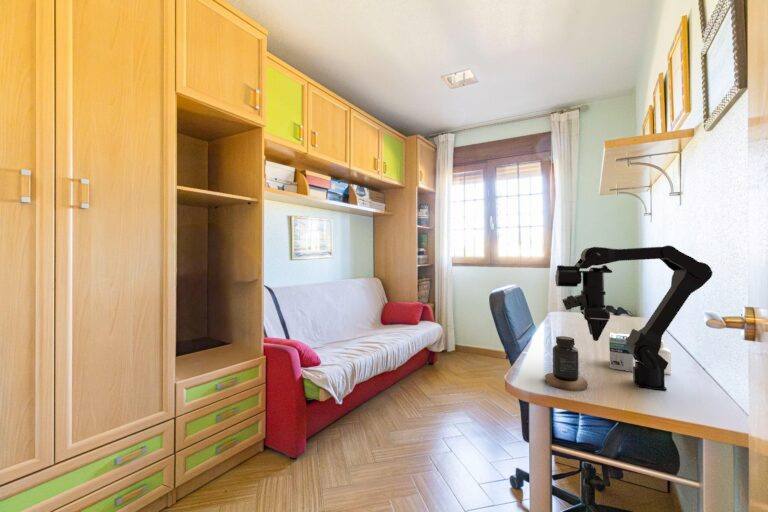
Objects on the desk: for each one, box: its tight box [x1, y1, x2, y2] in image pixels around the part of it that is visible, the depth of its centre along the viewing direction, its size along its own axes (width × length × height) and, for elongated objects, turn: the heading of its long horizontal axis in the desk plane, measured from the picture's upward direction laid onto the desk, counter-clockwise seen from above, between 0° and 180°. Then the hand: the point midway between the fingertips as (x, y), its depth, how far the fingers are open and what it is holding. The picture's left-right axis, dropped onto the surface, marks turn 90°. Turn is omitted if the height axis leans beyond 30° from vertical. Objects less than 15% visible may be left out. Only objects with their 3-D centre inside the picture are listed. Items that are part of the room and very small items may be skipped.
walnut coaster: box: [544, 372, 588, 392], centre depth 97 cm, size 11×11×2 cm
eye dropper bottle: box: [658, 339, 672, 376], centre depth 108 cm, size 4×6×12 cm
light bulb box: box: [608, 331, 635, 373], centre depth 114 cm, size 11×7×11 cm, turn 143°
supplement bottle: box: [552, 335, 580, 381], centre depth 98 cm, size 7×7×12 cm
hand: (593, 337), depth 101 cm, fingers open, 9 cm apart
